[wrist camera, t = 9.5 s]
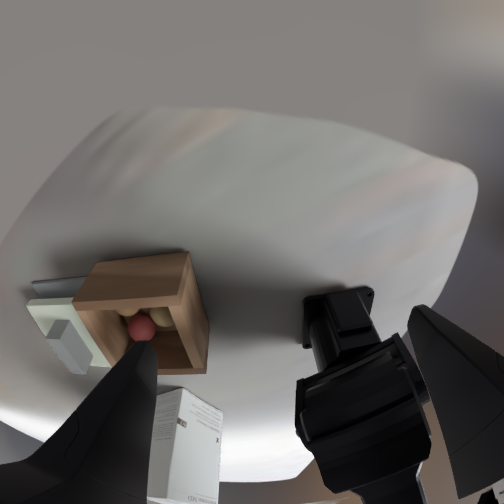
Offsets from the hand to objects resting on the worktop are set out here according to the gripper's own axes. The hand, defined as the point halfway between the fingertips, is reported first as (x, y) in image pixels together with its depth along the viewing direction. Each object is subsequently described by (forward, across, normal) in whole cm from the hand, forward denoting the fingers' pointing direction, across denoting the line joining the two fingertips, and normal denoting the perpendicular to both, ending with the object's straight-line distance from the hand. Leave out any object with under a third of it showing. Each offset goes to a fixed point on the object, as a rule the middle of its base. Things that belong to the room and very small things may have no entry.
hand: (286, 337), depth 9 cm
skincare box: (+12, +12, +26) cm, 31 cm away
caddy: (+12, +10, +7) cm, 17 cm away
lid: (+11, +19, +10) cm, 24 cm away
